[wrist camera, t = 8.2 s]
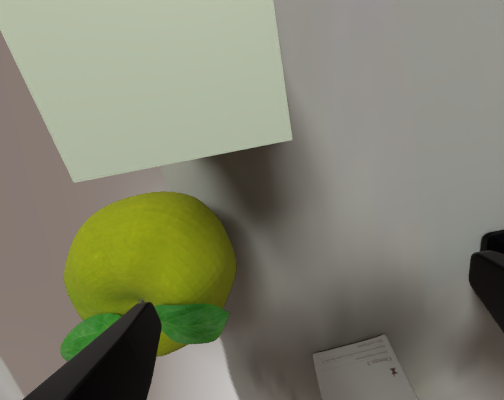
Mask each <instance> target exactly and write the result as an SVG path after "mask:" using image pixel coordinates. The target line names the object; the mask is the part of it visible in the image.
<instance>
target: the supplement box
mask: <svg viewBox="0 0 504 400" xmlns="http://www.w3.org/2000/svg"><path fill="white" fill-rule="evenodd" d="M313 362H314V367H315V371H316V376H317V381H318V385H319V390H320V394H321V399H322V400H418V398H417V396H416V394H415V392H414V390H413V388H412V386H411V384H410V382H409V380H408V378H407V376H406V374H405V372H404V371H403V369H402V367H401V365H400V363H399V361H398V359H397V357H396V355H395V353H394V351H393V349H392V347H391V345H390V343H389V341H388V338H387V336H386V335H384V334H383V335H381V336H378V337H376V338H372V339H369V340H365V341H362V342H358V343H355V344H351V345H347V346H343V347H339V348H335V349H332V350H328V351H324V352H318V353H314V354H313Z"/></svg>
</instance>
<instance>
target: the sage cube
mask: <svg viewBox="0 0 504 400" xmlns="http://www.w3.org/2000/svg"><path fill="white" fill-rule="evenodd" d="M0 30H1V32H2V34H3V37H4V39H5V40H6V43H7V45H8V47H9V49H10V51H11V53H12V55H13V57H14V59H15V62H16V64H17V66H18V68H19V70H20V72H21V74H22V76H23V78H24V80H25V82H26V84H27V86H28V89H29V91H30V92H31V95H32V96H33V99H34V101H35V103H36V105H37V107H38V109H39V111H40V113H41V116H42V118H43V120H44V122H45V124H46V126H47V128H48V130H49V132H50V134H51V136H52V138H53V140H54V143H55V145H56V147H57V149H58V151H59V153H60V155H61V157H62V159H63V161H64V163H65V165H66V167H67V169H68V171H69V174H70V176H71V178H72V180H73V182H74V183H75V182H80V181H85V180H91V179H96V178H101V177H106V176H111V175H116V174H121V173H126V172H131V171H137V170H142V169H146V168H152V167H157V166H162V165H167V164H172V163H177V162H183V161H188V160H193V159H198V158H203V157H208V156H213V155H218V154H223V153H229V152H234V151H239V150H244V149H249V148H254V147H259V146H264V145H269V144H274V143H280V142H285V141H290V140H292V132H291V125H290V118H289V111H288V104H287V96H286V89H285V82H284V75H283V68H282V60H281V53H280V46H279V39H278V31H277V24H276V17H275V10H274V3H273V0H0Z"/></svg>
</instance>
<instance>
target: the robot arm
mask: <svg viewBox="0 0 504 400" xmlns="http://www.w3.org/2000/svg"><path fill="white" fill-rule="evenodd" d="M491 239H492V240H491ZM469 282H470V285H471V287H472V288H473V290H474V291H475V293H476V294H477V295H478V297H479V298H480V300H481V301H482V303H483V304H484V305H485V307H486V308H487V310H488V311H489V313H490V314H491V315H492V317H493V318H494V320H495V321H496V323H497V324H498V325H499V327H500V328H501V330H502V331H503V333H504V230H500V231H495V232H490V233H488V234H486V235H485V236H484V238H483V245H482V252H476V253H473V254H472V256H471V260H470V269H469ZM161 329H162V324H161V320H160V318H159V316H158V314H157V311H156V309H155V307H154V305H153V303H151V302H143V303H138V304H136V305H135V306H133V307H132V308H131V309H130V310H129V311H128V312H126V313H125V314H124V315H123V316H122V317H120V318H119V319H118V320H117V321H116V322H114V323H113V324H112V325H111V326H110V327H108V328H107V329H106V330H105V331H104V332H103V333H101V334H100V335H99V336H98V337H97V338H95V339H94V340H93V341H92V342H91V343H89V344H88V345H87V346H86V347H85V348H83V349H82V350H81V351H80V352H79V353H77V354H76V355H75V356H74V357H73V358H72V359H70V360H69V361H68V362H67V363H66V364H64V365H63V366H62V367H61V368H60V369H58V370H57V371H56V372H55V373H54V374H53V375H51V376H50V377H49V378H48V379H47V380H45V381H44V382H43V383H42V384H41V385H39V386H38V387H37V388H36V389H35V390H34V391H32V392H31V393H30V394H29V395H27V396H26V397H25V398H24V399H23V400H146V399H147V395H148V392H149V388H150V385H151V380H152V376H153V371H154V366H155V361H156V356H157V351H158V345H159V340H160V335H161Z"/></svg>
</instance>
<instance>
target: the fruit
mask: <svg viewBox="0 0 504 400" xmlns="http://www.w3.org/2000/svg"><path fill="white" fill-rule="evenodd" d="M236 269H237V267H236V257H235V253H234V250H233V247H232V245H231V242H230V240H229V238H228V235H227V233H226V231H225V229H224V227H223V225H222V223H221V221H220V220H219V219H218V217H217V216H216V215H215V213H214V212H213V211H212V210H210V209H209V208H208V207H207V206H206V205H205V204H204V203H202V202H201V201H199V200H198V199H196V198H195V197H192V196H190V195H186V194H182V193H176V192H152V193H145V194H140V195H136V196H132V197H128V198H125V199H122V200H119V201H116V202H114V203H112V204H110V205H108V206H106V207H104V208H102V209H100V210H99V211H97V212H96V213H95V214H93V215H92V216H91V217H89V218H88V220H87V221H86V222H85V223H84V224H83V225H82V226H81V228H80V229H79V231H78V233H77V234H76V236H75V238H74V240H73V242H72V244H71V247H70V250H69V253H68V257H67V260H66V265H65V271H64V282H65V287H66V290H67V293H68V296H69V298H70V300H71V302H72V304H73V305H74V307H75V309H76V311H77V313H78V314H79V316H80V317H81V318H82V320H83V321H82V322H81V323H80V324H79V325H77V326H76V327H75V328H74V329H73V330H72V331H71V332H70V333H69V334H68V335H67V337H66V338H65V339H64V341H63V343H62V345H61V355H62V357H63V358H64V359H65V360H66V361H69V360H70V359H72V358H73V357H74V356H75V355H76V354H77V353H79V352H80V351H81V350H82V349H83V348H85V347H86V346H87V345H88V344H89V343H91V342H92V341H93V340H94V339H95V338H97V337H98V336H99V335H100V334H101V333H103V332H104V331H105V330H106V329H107V328H108V327H110V326H111V325H112V324H113V323H114V322H116V321H117V320H118V319H119V318H120V317H122V316H123V315H124V314H125V313H126V312H128V311H129V310H130V309H131V308H132V307H133V306H135V305H136V304H138V303H143V302H151V303H153V305H154V307H155V309H156V311H157V314H158V316H159V318H160V320H161V324H162V329H161V335H160V340H159V345H158V351H157V356H163V355H167V354H169V353H171V352H174V351H176V350H178V349H180V348H182V347H184V346H186V345H188V344H201V343H209V342H212V341H214V340H216V339H217V338H218V337H219V336H220V334H221V332H222V330H223V328H224V326H225V324H226V321H227V319H228V317H229V314H230V312H227V311H225V310H224V309H223V308H224V305H225V303H226V301H227V298H228V295H229V293H230V290H231V288H232V285H233V282H234V278H235V274H236ZM157 356H156V357H157Z"/></svg>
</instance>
